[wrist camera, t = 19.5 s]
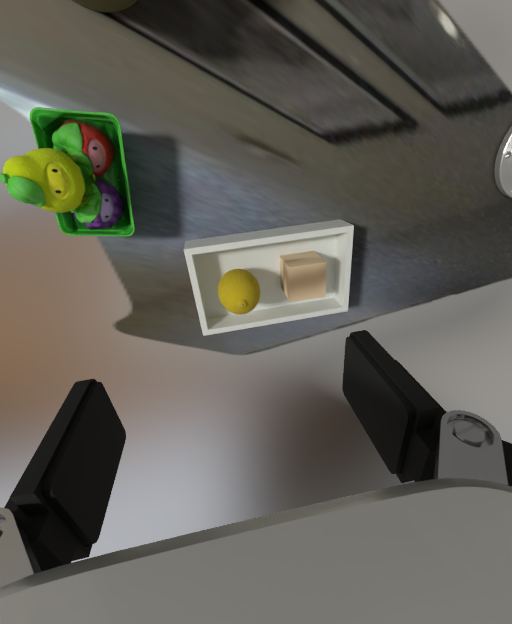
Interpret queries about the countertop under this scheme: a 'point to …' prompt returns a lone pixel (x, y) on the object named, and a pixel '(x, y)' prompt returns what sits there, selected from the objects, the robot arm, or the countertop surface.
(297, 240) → the tray
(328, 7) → the countertop surface
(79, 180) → the fruit basket
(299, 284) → the cube
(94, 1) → the piston
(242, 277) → the lemon
